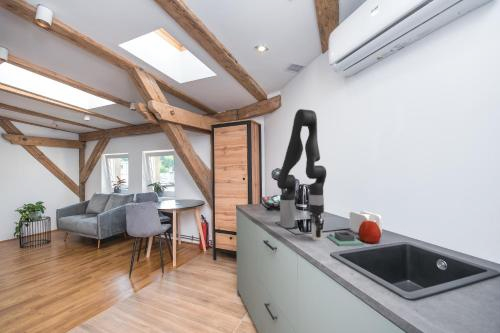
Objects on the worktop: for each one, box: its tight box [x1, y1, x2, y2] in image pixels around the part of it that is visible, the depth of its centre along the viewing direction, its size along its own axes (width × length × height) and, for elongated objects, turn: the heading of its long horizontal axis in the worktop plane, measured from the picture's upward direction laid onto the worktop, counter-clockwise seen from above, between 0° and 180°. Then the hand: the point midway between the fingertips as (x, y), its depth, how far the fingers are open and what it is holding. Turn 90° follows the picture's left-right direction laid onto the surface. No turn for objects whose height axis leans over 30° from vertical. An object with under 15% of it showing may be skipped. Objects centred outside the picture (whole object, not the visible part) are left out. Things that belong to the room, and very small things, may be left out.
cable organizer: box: [349, 210, 383, 235], centre depth 127 cm, size 15×11×12 cm
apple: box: [357, 221, 382, 244], centre depth 113 cm, size 10×10×10 cm
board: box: [326, 231, 364, 247], centre depth 113 cm, size 14×12×4 cm
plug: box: [310, 222, 323, 241], centre depth 117 cm, size 4×4×8 cm
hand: (316, 235), depth 116 cm, fingers closed on plug, 4 cm apart
